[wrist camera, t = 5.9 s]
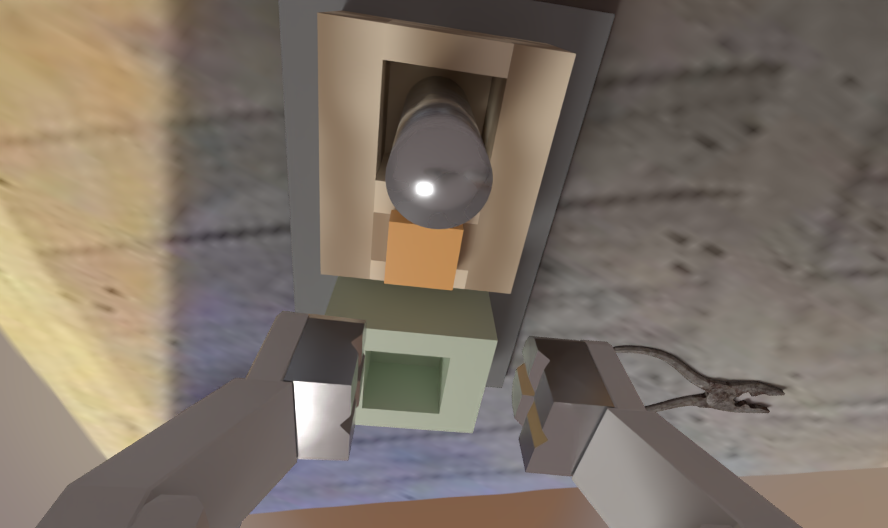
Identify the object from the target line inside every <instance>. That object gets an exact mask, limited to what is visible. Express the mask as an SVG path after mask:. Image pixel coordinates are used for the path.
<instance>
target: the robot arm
mask: <svg viewBox="0 0 888 528" xmlns="http://www.w3.org/2000/svg"><path fill="white" fill-rule="evenodd" d="M366 329H367V322H366V320H361V319H352V318H344V317H335V316H327V315H318V314H306V313H297V312H289V311H282V312H281V313H280V314H278V315H277V317H276V319H275V321H274V323H273V325H272V327H271V329H270V331H269V333H268V335H267V337H266V339H265V340H264V342H263V344H262V346H261V348H260V350H259V352H258V354H257V356H256V358H255V360H254V362H253V364H252V366H251V368H250V370H249V372H248V374H247V376H246V378H235V379H233V380H232V381H230V382H229V383H227V384H225V385H224V386H222V387H221V388H219V389H218V390H216V391H214V392H213V393H211V394H210V395H208V396H207V397H205V398H203V399H202V400H200V401H199V402H197V403H196V404H194V405H193V406H191V407H189V408H188V409H186V410H185V411H183V412H182V413H180V414H178V415H177V416H175V417H174V418H172V419H171V420H169V421H167V422H166V423H164V424H163V425H161V426H160V427H158V428H157V429H155V430H153V431H152V432H150V433H149V434H147V435H146V436H144V437H142V438H141V439H139V440H138V441H136V442H135V443H133V444H131V445H130V446H128V447H127V448H125V449H124V450H122V451H121V452H119V453H117V454H116V455H114V456H113V457H111V458H110V459H108V460H106V461H105V462H103V463H102V464H100V465H99V466H97V467H95V468H94V469H92V470H91V471H90V472H88V473H86V474H85V475H83V476H82V477H80V478H78V479H77V480H75V481H74V482H72V483H70V484H69V485H68V486H67V487H66V488H65V490H64V491H63V492H62V493H61V495H60V496H59V497H58V499H57V500H56V501H55V503H54V504H53V505H52V506H51V508H50V509H49V511H48V512H47V513H46V514H45V516H44V517H43V518H42V520H41V521H40V522H39V524H38V525H37V526H36V527H35V528H237V526H238V525H239V524H240V523H241V522H242V521H243V520H244V519H245V518H246V517H247V516H248V515H249V513H250V512H251V511H252V510H253V509H254V508H255V507H256V506H257V505H258V504H259V503H260V502H261V500H262V499H263V498H264V497H265V496H266V495H267V494H268V493H269V492H270V491H271V490H272V488H273V487H274V486H275V485H276V484H277V483H278V482H279V481H280V480H281V479H282V478H283V477H284V475H285V474H286V473H287V472H288V471H289V470H290V469H291V468H292V467H293V466H294V465H295V464H296V462H297V459H318V460H345V461H348V460H349V455H350V449H351V444H352V439H353V434H354V428H355V416H356V408H357V407H358V406H359V401H360V395H361V389H362V382H363V374H364V363H365V355H364V353H363V351H364V346H365V341H366ZM522 354H523V358H524V362H525V363H523V364H522V365H521V366H519V367H518V368H517V369H516V372H515V376H514V380H513V386H512V407H513V412H514V418H515V419H516V420H517V421H518V422H519V423H520V424H521V425H522V426H523V428H522V430H521V433H520V436H519V443H520V448H521V453H522V458H523V463H524V467H525V472H529V473H540V474H551V475H561V476H572V480H573V481H574V483H575V484H576V485H577V487H578V488H579V489H580V490H581V492H582V493H583V494H584V496H585V497H586V498H587V499H588V501H589V502H590V503H591V505H592V506H593V507H594V508H595V510H596V511H597V512H598V514H599V515H600V516H601V517H602V519H603V520H604V521H605V523H606V524H607V525H608V526H609V527H610V528H802V527H801V526H799V525H798V524H797V523H796V522H795V521H793V520H792V519H791V518H790V517H788V516H787V515H785V514H784V513H783V512H782V511H781V510H779V509H778V508H777V507H775V506H774V505H773V504H772V503H770V502H769V501H768V500H767V499H765V498H764V497H763V496H761V495H760V494H759V493H758V492H756V491H755V490H754V489H753V488H751V487H750V486H749V485H748V484H746V483H745V482H744V481H742V480H741V479H740V478H739V477H737V476H736V475H735V474H734V473H732V472H731V471H730V470H729V469H727V468H726V467H725V466H723V465H722V464H721V463H720V462H718V461H717V460H716V459H715V458H713V457H712V456H711V455H709V454H708V453H707V452H706V451H704V450H703V449H702V448H701V447H699V446H698V445H697V444H695V443H694V442H693V441H692V440H690V439H689V438H688V437H687V436H685V435H684V434H683V433H681V432H680V431H679V430H678V429H676V428H675V427H674V426H673V425H671V424H670V423H669V422H667V421H666V420H665V419H664V418H662V417H661V416H660V415H659V414H657V413H656V412H653V411H646V409H645V407H644V405H643V403H642V401H641V399H640V397H639V396H638V394H637V392H636V390H635V388H634V386H633V384H632V382H631V381H630V379H629V377H628V375H627V373H626V371H625V369H624V367H623V366H622V364H621V362H620V360H619V358H618V356H617V354H616V352H615V351H614V349H613V347H612V345H610V344H609V343H608V342H602V341H589V340H580V341H579V340H569V339H558V338H547V337H536V336H529V337H528V338H527V340H526V341H525V344H524V347H523V350H522Z"/></svg>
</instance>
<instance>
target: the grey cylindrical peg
mask: <svg viewBox="0 0 888 528" xmlns="http://www.w3.org/2000/svg"><path fill="white" fill-rule="evenodd" d="M385 182H386V189H387V192H388V195H389V198H390V200H391V202H392V204H393V205H394V207H395V208H396V209H397V211H398V212H399V213H400V214H401V215H402V216H403V217H405V218H406V219H407V220H409V221H411V222H412V223H414V224H416V225H419V226H422V227H425V228H430V229H448V228H453V227H456V226H459V225H461V224H464V223H466V222H467V221H469V220H470V219H472V218H473V217H474V216H476V215H477V214H478V213H479V212H480V210H481V209H482V208H483V207H484V205H485V203H486V202H487V200H488V198H489V195H490V192H491V189H492V183H493V173H492V167H491V163H490V160H489V157H488V154H487V152H486V149H485V146H484V143H483V141H482V138H481V135H480V132H479V129H478V127H477V124H476V121H475V118H474V116H473V113H472V110H471V107H470V104H469V102H468V99H467V96H466V94H465V92H464V91H463V89H462V88H461V87H460V86H459V85H458V84H457V83H456V82H454V81H453V80H451V79H449V78H446V77H442V76H431V77H427V78H424V79H422V80H420V81H419V82H417V83H416V84H415V85H414V86H413V87H412V88H411V90H410V91H409V93H408V95H407V97H406V100H405V104H404V107H403V111H402V114H401V118H400V121H399V125H398V128H397V132H396V135H395V139H394V143H393V146H392V150H391V153H390V157H389V160H388V164H387V167H386V174H385Z"/></svg>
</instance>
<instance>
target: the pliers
mask: <svg viewBox="0 0 888 528" xmlns="http://www.w3.org/2000/svg"><path fill="white" fill-rule="evenodd" d="M613 349H614V351H615V352H618V353H628V352H630V353H640V354H645V355H650V356H653V357H657V358H659V359H661V360H663V361H665V362H667V363H668V364H670V365H671V366H672V367H673V368H675V369H676V370H677V371H678V372H679V373H681V374H682V375H683V376H684V377H685V378H686V379H687V380H689V381H690V382H691V383H693V384H694V385H696V386H698V387H700V388H701V389H703V390H705V391H706V392H705V393H704V394H701V395H692V396H686V397H680V398H676V399H672V400H668V401H665V402H661V403H657V404H654V405H650V406H646V407H645V409H646V411H653V412H658V411H663V410H667V409H672V408H677V407H682V406H698V407H703V408H714V409H718V410H722V411H729V412H742V413H769V412H770V411H769V410H768V409H767V407H763V406H760V405H756V404H752V405H749V404H747V403H746V401H743V400H742V401H740V402H738V403H735V400H734V398H735V397H739V396H740V395H742V394H743V393H746V392H749V393H750V394H751V396H758V395H761V394H767V395H769V396H774V395H784V394H785V393H784V392H783V391H782V390H781V389H778V388H775V387H772V386H769V385H766V384H763V383H760V382H757V381H745V382H723V381H718V380H712V379H709V378H705V377H703V376H701V375H699V374H698V373H696V372H695V371H693V370H692V369H690V368H689V367H688V366H686V365H685V364H684V363H682V362H681V361H680V360H678V359H677V358H675V357H673V356H672V355H670V354H668V353H665V352H663V351H659V350H655V349H651V348H645V347H636V346H619V347H613Z"/></svg>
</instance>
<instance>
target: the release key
mask: <svg viewBox="0 0 888 528" xmlns="http://www.w3.org/2000/svg"><path fill="white" fill-rule="evenodd" d="M463 231H464V229H463V224H461V225H459V226H456V227H453V228H448V229H430V228H425V227H422V226H419V225H416V224H414V223H412V222H411V221H409V220H407V219H406V218H405V217H403V216H402V215H401V214H400V213H399V212H398V211H397V210H391V214H390V219H389V229H388V241H387V253H386V265H385V278H384V284H394V285H403V286H413V287H423V288H432V289H442V290H453V285H454V280H455V274H456V269H457V263H458V258H459V253H460V247H461V242H462V236H463Z"/></svg>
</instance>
